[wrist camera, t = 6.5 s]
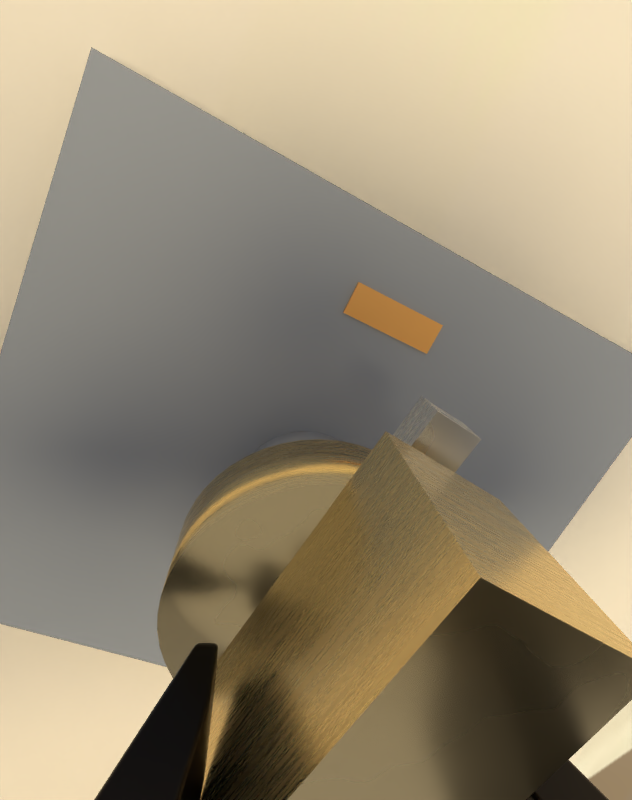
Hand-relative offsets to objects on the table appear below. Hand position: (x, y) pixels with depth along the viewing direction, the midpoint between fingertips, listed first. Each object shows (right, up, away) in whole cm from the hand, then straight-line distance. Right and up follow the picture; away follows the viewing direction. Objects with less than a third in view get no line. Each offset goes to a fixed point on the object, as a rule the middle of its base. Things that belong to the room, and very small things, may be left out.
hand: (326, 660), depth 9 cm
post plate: (-1, +2, +8) cm, 8 cm away
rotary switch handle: (0, +1, +3) cm, 3 cm away
